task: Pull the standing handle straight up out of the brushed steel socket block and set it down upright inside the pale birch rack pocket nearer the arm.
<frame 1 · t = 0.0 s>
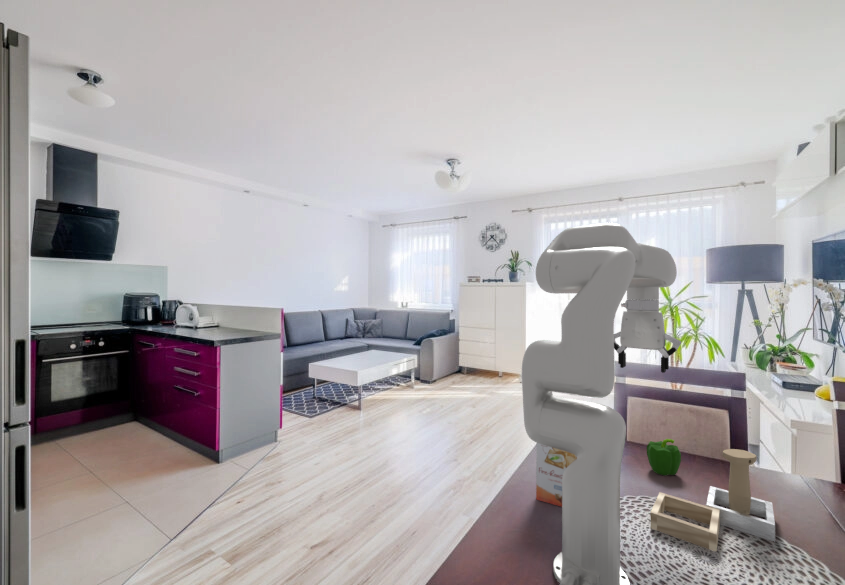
hand: (642, 369, 101), 31 cm above the table, fingers open, 9 cm apart
cracker box: (567, 504, 91), on the table
handle: (739, 519, 85), resting in socket block
bell pepper: (663, 473, 108), on the table
socket block: (739, 518, 85), on the table
rack: (685, 527, 82), on the table
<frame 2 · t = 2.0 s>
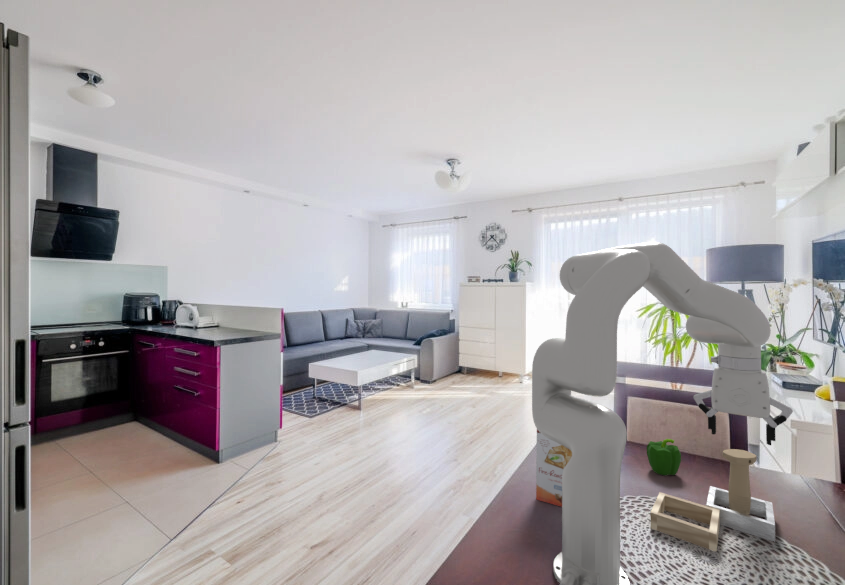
hand: (740, 437, 85), 19 cm above the table, fingers open, 9 cm apart
nothing on the table moved.
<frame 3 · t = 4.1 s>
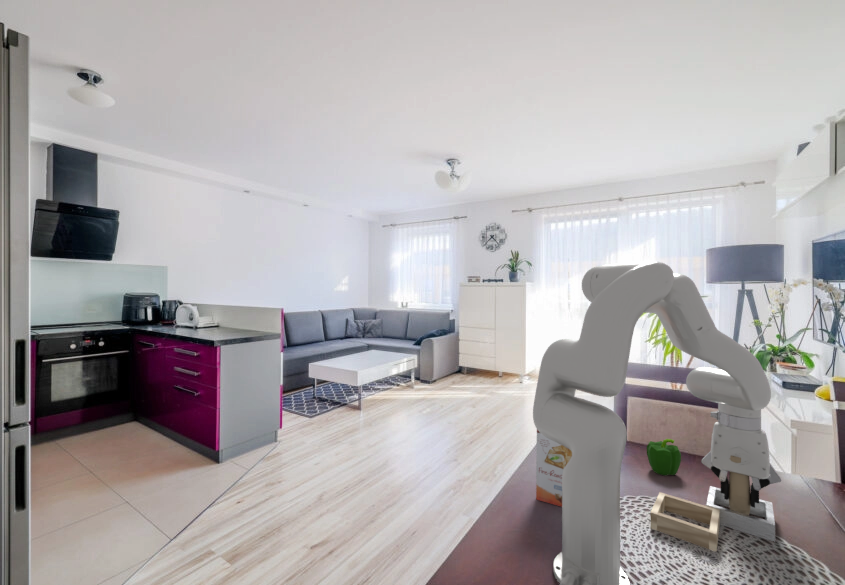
hand: (739, 500, 85), 4 cm above the table, fingers closed on handle, 4 cm apart
handle: (739, 519, 85), resting in socket block, touching gripper
everything else where it was.
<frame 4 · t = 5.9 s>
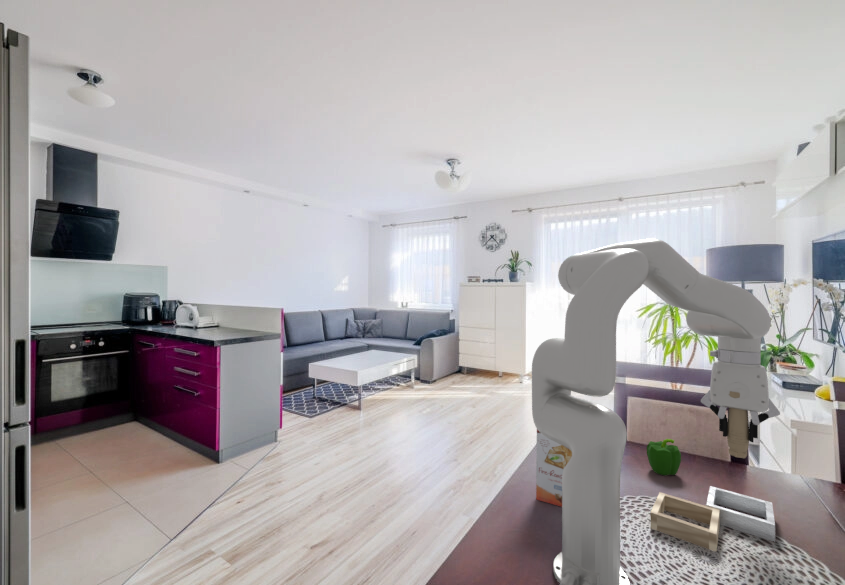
hand: (737, 437, 85), 19 cm above the table, fingers closed on handle, 4 cm apart
handle: (737, 456, 85), point 14 cm above the table, touching gripper
everything else where it was.
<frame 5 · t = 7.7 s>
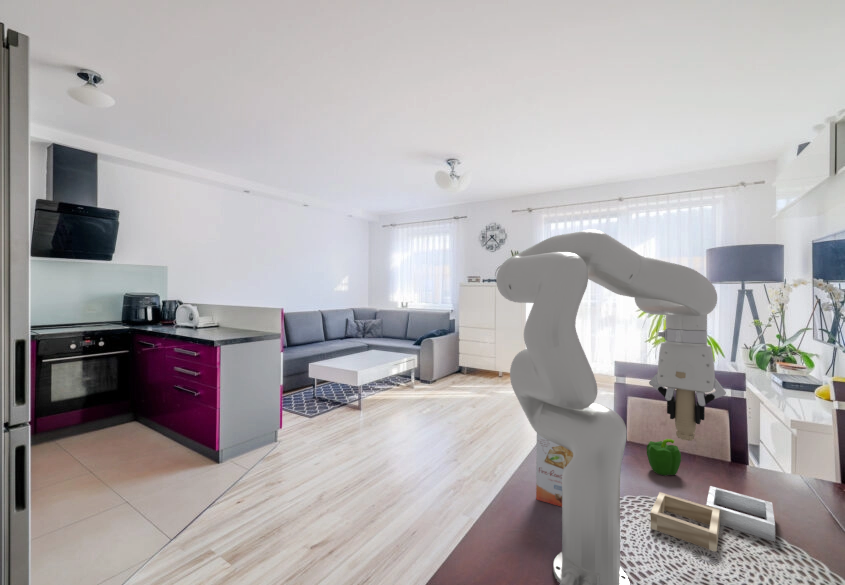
hand: (685, 419, 82), 24 cm above the table, fingers closed on handle, 4 cm apart
handle: (685, 439, 82), point 19 cm above the table, touching gripper
everything else where it was.
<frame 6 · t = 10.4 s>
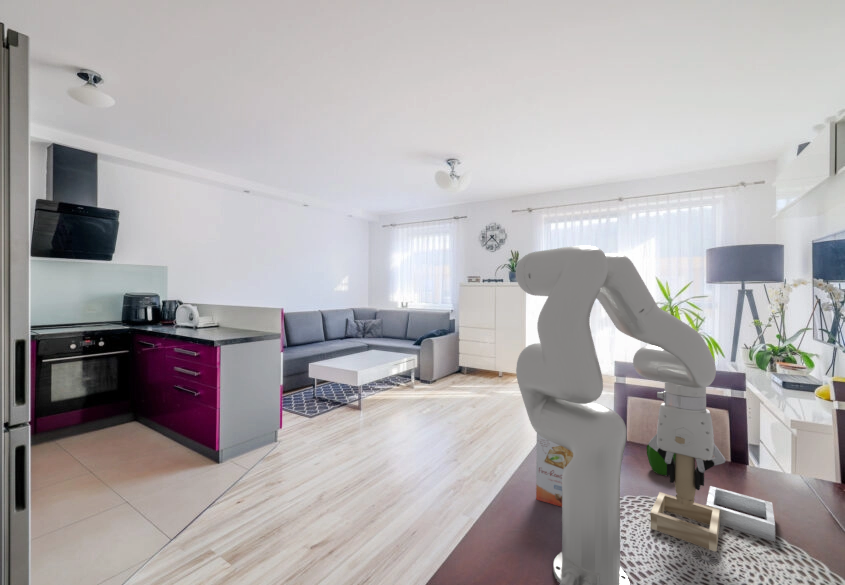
hand: (685, 483, 82), 10 cm above the table, fingers closed on handle, 4 cm apart
handle: (685, 503, 82), point 5 cm above the table, touching gripper
everything else where it was.
when the fingers open (6 cm above the table, at t = 11.6 s): handle drops 2 cm, resting in rack.
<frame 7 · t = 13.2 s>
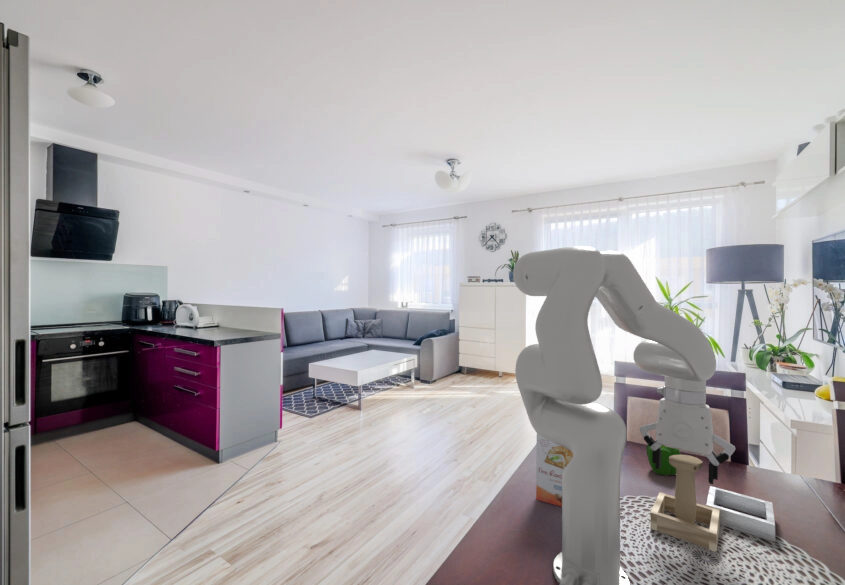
hand: (683, 474, 82), 12 cm above the table, fingers open, 9 cm apart
handle: (685, 528, 82), resting in rack
everything else where it was.
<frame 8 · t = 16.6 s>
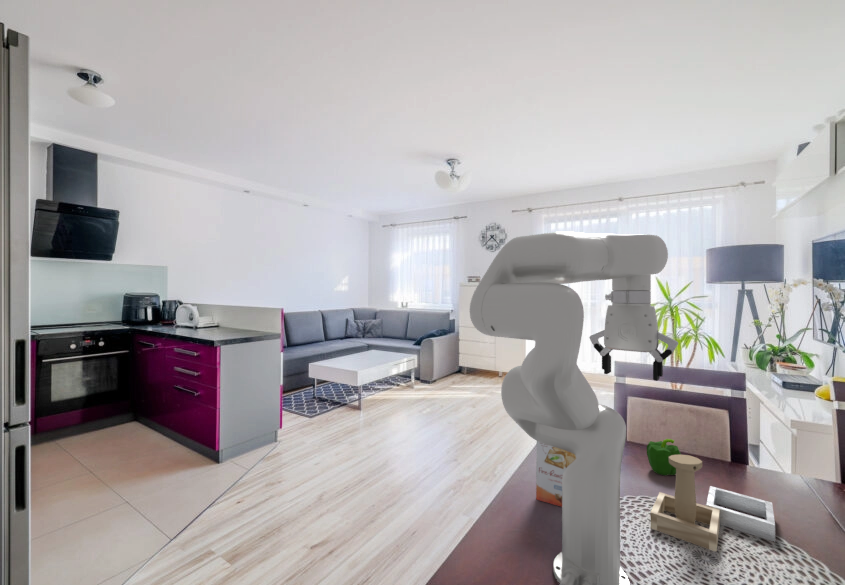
hand: (631, 376, 82), 33 cm above the table, fingers open, 9 cm apart
nothing on the table moved.
at the end: handle 0.2 cm off-centre on the rack, point 0.0 cm above the rack's base; handle tilted 0°; the gripper is holding nothing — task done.
